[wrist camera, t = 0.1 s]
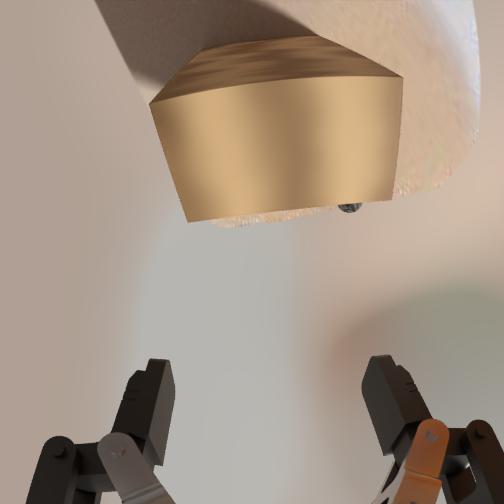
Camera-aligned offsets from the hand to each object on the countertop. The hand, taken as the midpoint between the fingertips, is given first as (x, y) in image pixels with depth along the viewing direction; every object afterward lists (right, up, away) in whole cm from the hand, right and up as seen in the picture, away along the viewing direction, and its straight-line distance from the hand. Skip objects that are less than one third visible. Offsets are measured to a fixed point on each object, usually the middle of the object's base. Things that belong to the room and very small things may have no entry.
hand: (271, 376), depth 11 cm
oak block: (+1, +25, +19) cm, 32 cm away
